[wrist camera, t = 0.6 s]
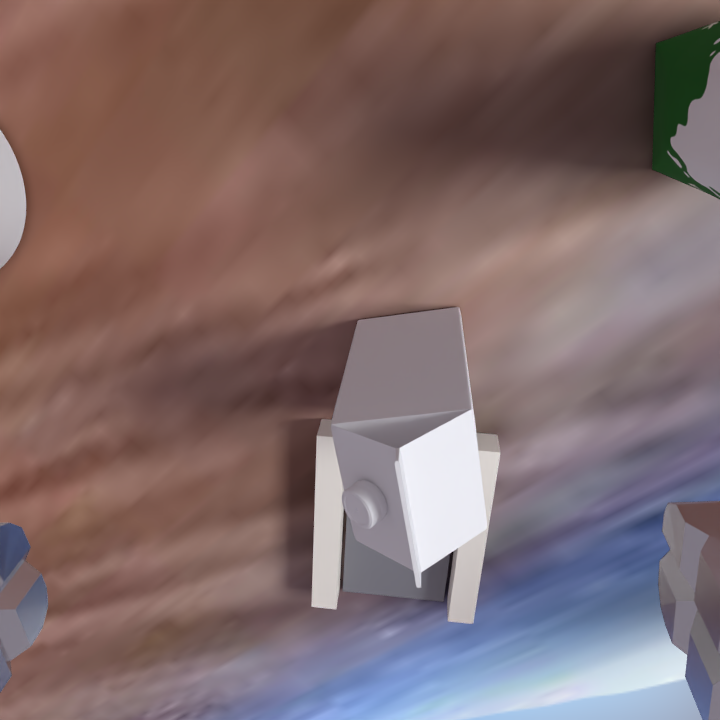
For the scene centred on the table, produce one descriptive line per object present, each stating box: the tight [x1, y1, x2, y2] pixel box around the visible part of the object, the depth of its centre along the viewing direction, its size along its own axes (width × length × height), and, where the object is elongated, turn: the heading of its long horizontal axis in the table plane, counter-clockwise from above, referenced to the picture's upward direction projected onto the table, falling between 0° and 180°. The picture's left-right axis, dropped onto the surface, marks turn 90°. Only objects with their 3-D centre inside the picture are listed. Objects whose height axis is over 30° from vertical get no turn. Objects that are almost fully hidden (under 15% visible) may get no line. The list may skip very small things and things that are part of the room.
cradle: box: [312, 419, 500, 624], centre depth 53 cm, size 13×16×2 cm
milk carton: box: [331, 307, 487, 588], centre depth 40 cm, size 7×7×19 cm
